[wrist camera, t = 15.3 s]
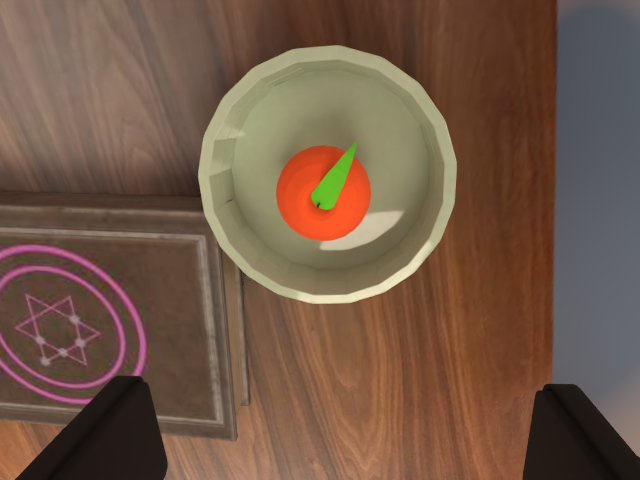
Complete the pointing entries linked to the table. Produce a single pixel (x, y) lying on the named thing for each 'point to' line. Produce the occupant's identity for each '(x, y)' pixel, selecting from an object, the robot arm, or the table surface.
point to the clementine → (323, 192)
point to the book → (119, 309)
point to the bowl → (338, 131)
